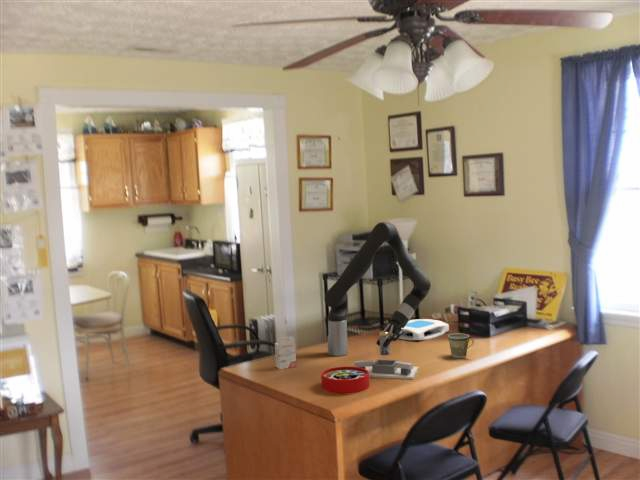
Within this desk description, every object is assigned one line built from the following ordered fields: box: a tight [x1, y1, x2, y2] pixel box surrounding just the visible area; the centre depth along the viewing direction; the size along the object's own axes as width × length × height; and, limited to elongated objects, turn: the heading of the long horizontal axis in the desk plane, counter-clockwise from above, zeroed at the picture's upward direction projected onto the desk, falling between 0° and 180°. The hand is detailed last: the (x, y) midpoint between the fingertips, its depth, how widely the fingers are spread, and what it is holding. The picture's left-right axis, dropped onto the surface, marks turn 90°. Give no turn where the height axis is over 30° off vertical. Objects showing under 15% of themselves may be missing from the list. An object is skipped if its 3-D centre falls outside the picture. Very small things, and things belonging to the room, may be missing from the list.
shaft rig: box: [354, 358, 419, 380], centre depth 294 cm, size 27×16×6 cm, turn 73°
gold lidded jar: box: [378, 330, 391, 356], centre depth 294 cm, size 4×4×10 cm
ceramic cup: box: [447, 333, 474, 359], centre depth 316 cm, size 13×10×10 cm
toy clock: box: [321, 366, 371, 395], centre depth 277 cm, size 20×6×20 cm
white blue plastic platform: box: [395, 318, 450, 342], centre depth 365 cm, size 21×28×6 cm
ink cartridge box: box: [274, 335, 297, 370], centre depth 309 cm, size 9×5×15 cm, turn 118°
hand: (381, 345), depth 293 cm, fingers closed on gold lidded jar, 4 cm apart
